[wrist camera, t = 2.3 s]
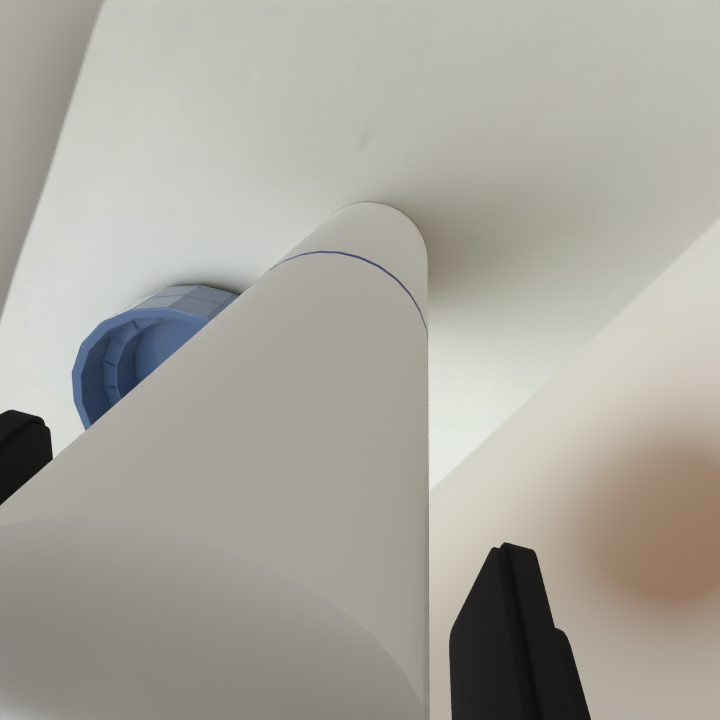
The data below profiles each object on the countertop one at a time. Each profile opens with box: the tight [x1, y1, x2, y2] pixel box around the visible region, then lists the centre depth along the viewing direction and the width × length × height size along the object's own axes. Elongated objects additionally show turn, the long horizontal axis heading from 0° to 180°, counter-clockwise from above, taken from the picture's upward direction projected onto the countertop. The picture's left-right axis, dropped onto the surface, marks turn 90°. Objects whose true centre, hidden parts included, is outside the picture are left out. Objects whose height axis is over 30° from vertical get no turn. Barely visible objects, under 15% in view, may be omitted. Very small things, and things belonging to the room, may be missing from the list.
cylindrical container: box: [0, 202, 429, 720], centre depth 18 cm, size 7×7×25 cm
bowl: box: [72, 285, 239, 430], centre depth 32 cm, size 14×14×5 cm
